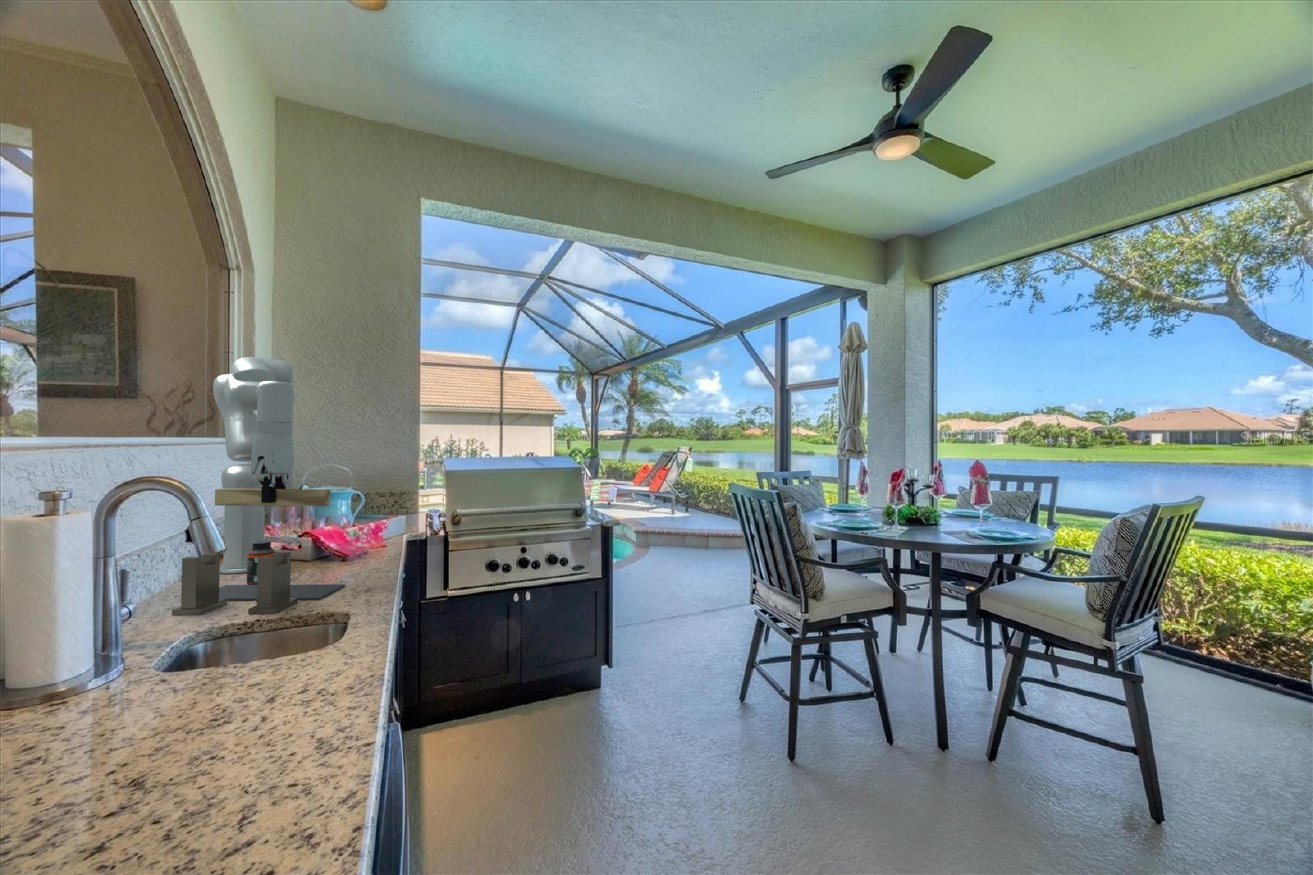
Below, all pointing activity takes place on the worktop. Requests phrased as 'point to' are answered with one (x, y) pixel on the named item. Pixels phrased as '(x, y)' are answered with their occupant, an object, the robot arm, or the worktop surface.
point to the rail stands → (204, 585)
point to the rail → (282, 497)
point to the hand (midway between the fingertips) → (273, 501)
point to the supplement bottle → (252, 561)
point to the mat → (295, 591)
